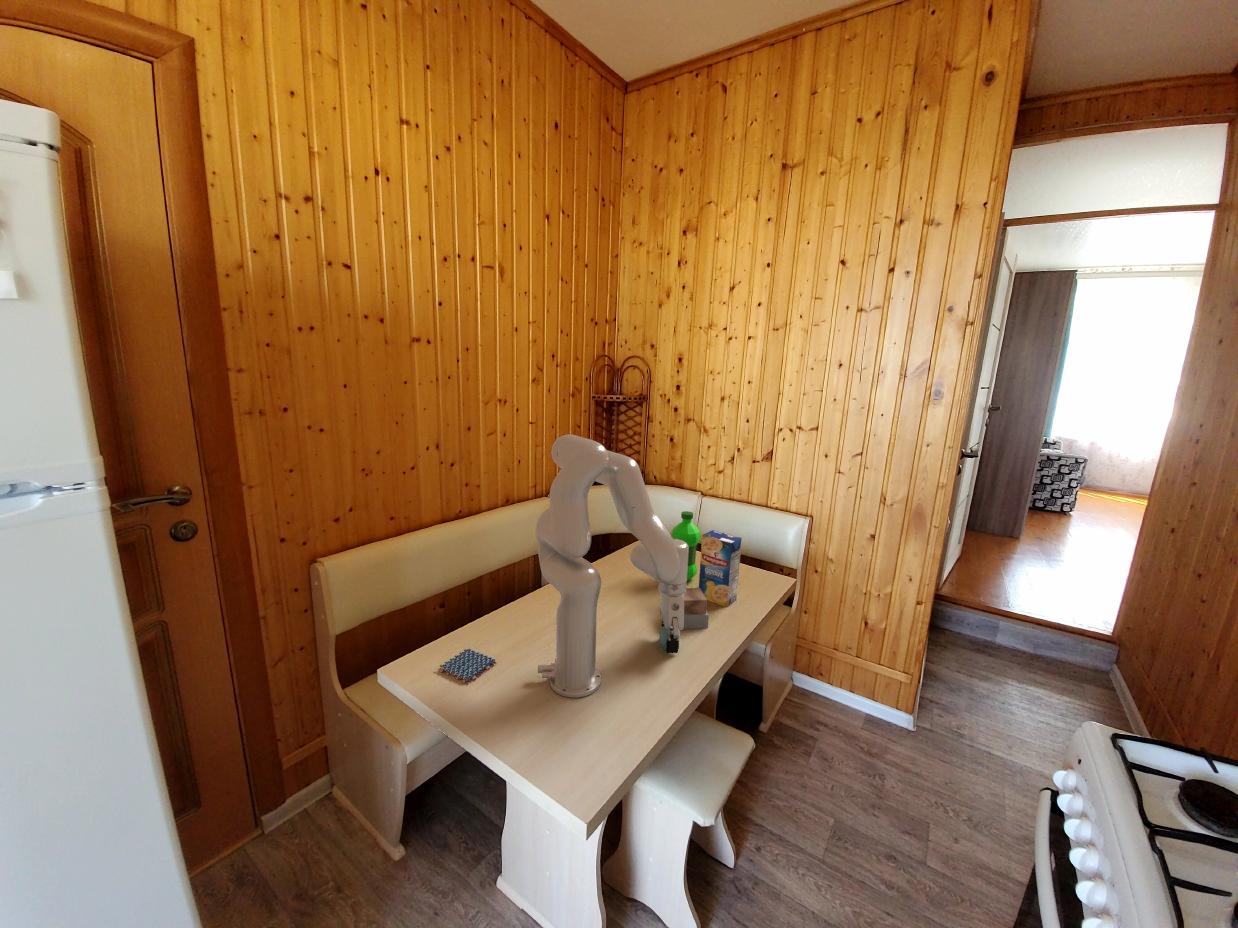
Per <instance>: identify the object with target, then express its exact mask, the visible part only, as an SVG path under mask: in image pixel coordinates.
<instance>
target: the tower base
mask: <svg viewBox="0 0 1238 928" xmlns="http://www.w3.org/2000/svg"><path fill="white" fill-rule="evenodd" d="M709 616H710V614H709V613H708V610H706V614H684V629H708V628H709V621H710V620H709V619H710V617H709ZM678 629H679V626H678Z"/></svg>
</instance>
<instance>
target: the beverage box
mask: <svg viewBox="0 0 1238 928" xmlns="http://www.w3.org/2000/svg"><path fill="white" fill-rule="evenodd" d="M701 535H702V536H701V549H700V564H699V577H698V578H699V579H698V588H700V589H701V590H702V592H703V594H704V596H705V598H706V599H707V601H709V602H711V603H714V604H717V605H720V606H723V607H725V608H727V607H729V606H731V605H732V604H733V603H734V602H737V596H738V585H739V575H740V562H741V552H742V537H740V536H735V535H734V534H733V535H732V534H728V533H725V532H722V531H718V530H714V529H713V530H709V531H707V532H705V533H703V534H701Z"/></svg>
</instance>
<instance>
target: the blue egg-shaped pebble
mask: <svg viewBox="0 0 1238 928" xmlns="http://www.w3.org/2000/svg"><path fill="white" fill-rule="evenodd" d="M670 628H673V626H670ZM678 630H679V640H680V636H681V635H680V634H681V630H680V629H679V628H678ZM671 634H673V631H670V635H671ZM667 639H668V630H667V629H666V628H665V626H663V627H661V626H660V628H659V640H658V642H659V644H658V648H659V649H660V650H661V651H662V652H665V653H666V642H667ZM678 650H680V644H679V645H678Z"/></svg>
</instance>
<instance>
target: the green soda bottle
mask: <svg viewBox="0 0 1238 928" xmlns="http://www.w3.org/2000/svg"><path fill="white" fill-rule="evenodd" d="M680 518H681V519H682V521H681V522H680V523H678V524H677V525H676V526H674V527H673V528H672V530H671V537H672V538H673V539H678V540H682V541H684V542H686V543H687V545H688V547H689V554H688V570H687V582H690V580H691V579H693V578H694V577H696V575H697V574H698V567H697V563H696V556H697V545H698V544H699V543H701V539H702V536H701V535H702V534H701V531H700V529H699V527H697V526H696V525H695V524H694V523H693V522H692V520H693V519H694V513H693V512H691V511H687V510H686V511H681V516H680Z"/></svg>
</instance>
